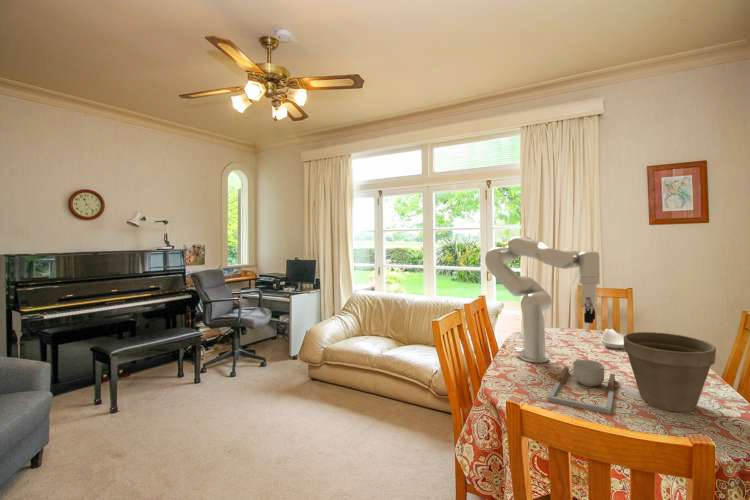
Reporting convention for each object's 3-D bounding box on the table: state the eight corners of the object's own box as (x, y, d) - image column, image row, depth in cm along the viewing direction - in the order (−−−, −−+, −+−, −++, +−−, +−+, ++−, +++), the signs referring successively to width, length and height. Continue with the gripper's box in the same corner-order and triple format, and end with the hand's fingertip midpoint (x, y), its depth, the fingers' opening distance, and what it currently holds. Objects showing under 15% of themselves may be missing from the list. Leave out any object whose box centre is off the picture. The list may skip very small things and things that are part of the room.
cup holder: (558, 383, 147) (558, 377, 147) (564, 372, 159) (564, 366, 159) (612, 393, 137) (612, 386, 137) (614, 380, 149) (614, 374, 149)
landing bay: (547, 401, 132) (547, 397, 132) (556, 385, 145) (556, 381, 145) (610, 414, 121) (610, 409, 121) (613, 395, 134) (613, 391, 134)
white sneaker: (630, 351, 186) (630, 337, 186) (603, 350, 190) (603, 336, 190) (618, 339, 208) (618, 327, 208) (594, 338, 212) (594, 326, 212)
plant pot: (726, 428, 110) (725, 355, 110) (626, 410, 123) (624, 345, 123) (707, 397, 131) (706, 336, 131) (623, 384, 144) (622, 329, 144)
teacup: (609, 389, 140) (608, 368, 140) (578, 388, 142) (577, 367, 142) (595, 376, 154) (594, 357, 154) (566, 375, 156) (566, 356, 156)
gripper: (581, 278, 168) (582, 316, 168) (576, 282, 154) (577, 323, 154) (601, 278, 164) (601, 318, 164) (597, 282, 149) (598, 325, 150)
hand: (589, 320), depth 159 cm, fingers open, 8 cm apart
